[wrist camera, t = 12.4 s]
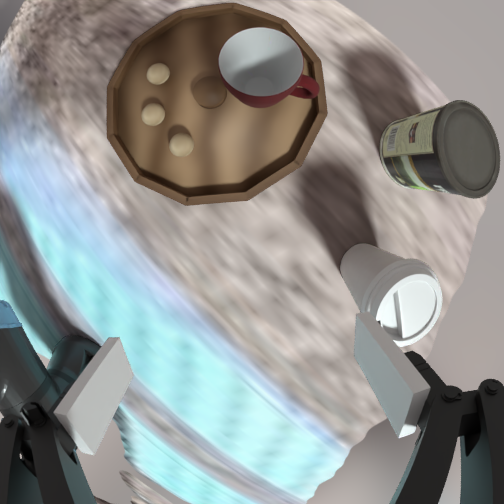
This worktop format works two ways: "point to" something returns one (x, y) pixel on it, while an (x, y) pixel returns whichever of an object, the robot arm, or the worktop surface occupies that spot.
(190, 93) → the ring tray
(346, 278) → the coffee cup
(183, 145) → the bead
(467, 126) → the coffee can
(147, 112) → the bead
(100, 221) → the worktop surface
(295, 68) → the mug
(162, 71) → the bead
